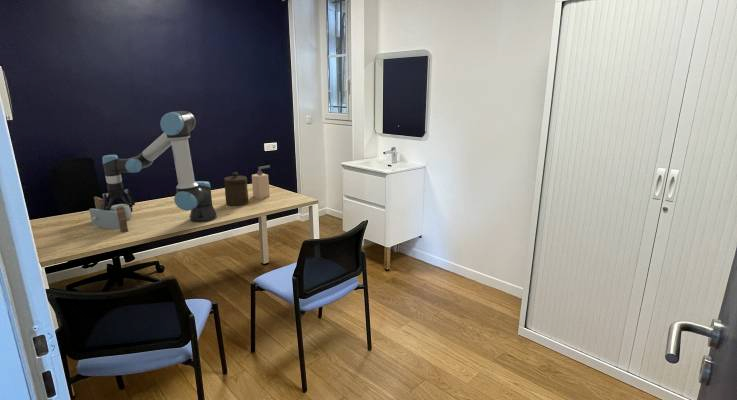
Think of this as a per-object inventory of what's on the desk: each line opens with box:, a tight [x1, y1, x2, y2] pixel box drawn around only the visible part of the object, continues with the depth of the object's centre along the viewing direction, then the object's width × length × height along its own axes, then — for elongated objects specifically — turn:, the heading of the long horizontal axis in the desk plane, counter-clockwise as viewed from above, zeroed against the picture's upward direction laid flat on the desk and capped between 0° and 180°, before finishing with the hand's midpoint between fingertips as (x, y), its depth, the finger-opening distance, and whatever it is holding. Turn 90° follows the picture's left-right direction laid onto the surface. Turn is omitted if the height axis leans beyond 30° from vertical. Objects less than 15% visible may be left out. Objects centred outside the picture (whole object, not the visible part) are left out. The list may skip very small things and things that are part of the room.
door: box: [89, 208, 120, 231], centre depth 225 cm, size 22×3×10 cm, turn 72°
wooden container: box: [223, 171, 250, 207], centre depth 274 cm, size 15×15×22 cm
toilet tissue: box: [110, 203, 132, 222], centre depth 233 cm, size 9×13×9 cm
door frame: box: [93, 196, 129, 234], centre depth 231 cm, size 36×3×14 cm, turn 52°
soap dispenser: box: [251, 165, 271, 200], centre depth 293 cm, size 13×9×22 cm
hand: (121, 219), depth 235 cm, fingers closed on toilet tissue, 9 cm apart
